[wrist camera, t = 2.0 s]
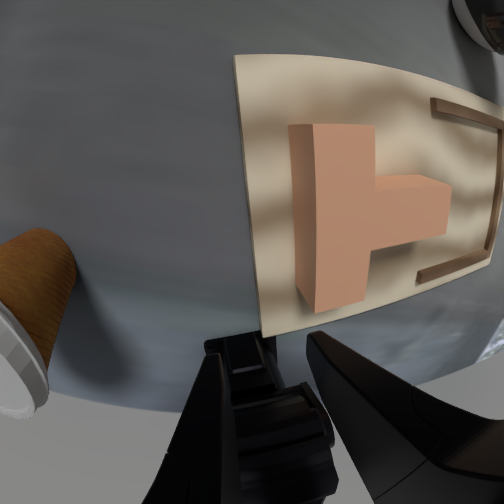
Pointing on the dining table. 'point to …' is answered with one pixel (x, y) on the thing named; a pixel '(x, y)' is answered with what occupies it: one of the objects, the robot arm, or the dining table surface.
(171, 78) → the dining table surface
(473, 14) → the grey egg-shaped pod
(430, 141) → the board
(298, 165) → the t block
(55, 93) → the dining table surface
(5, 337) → the disposable coffee cup
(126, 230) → the dining table surface
